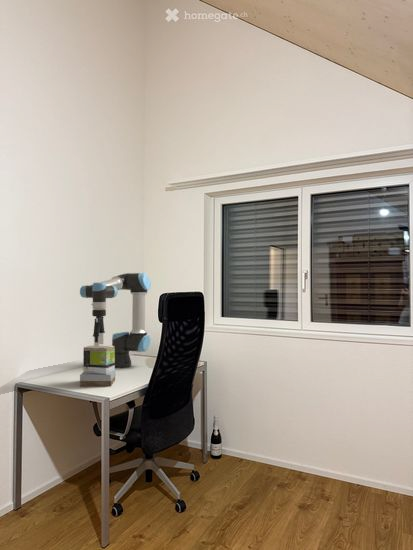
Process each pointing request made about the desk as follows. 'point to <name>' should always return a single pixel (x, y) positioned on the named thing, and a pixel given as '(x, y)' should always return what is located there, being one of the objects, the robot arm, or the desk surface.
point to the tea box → (99, 359)
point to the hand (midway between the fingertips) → (99, 346)
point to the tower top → (97, 376)
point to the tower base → (96, 383)
